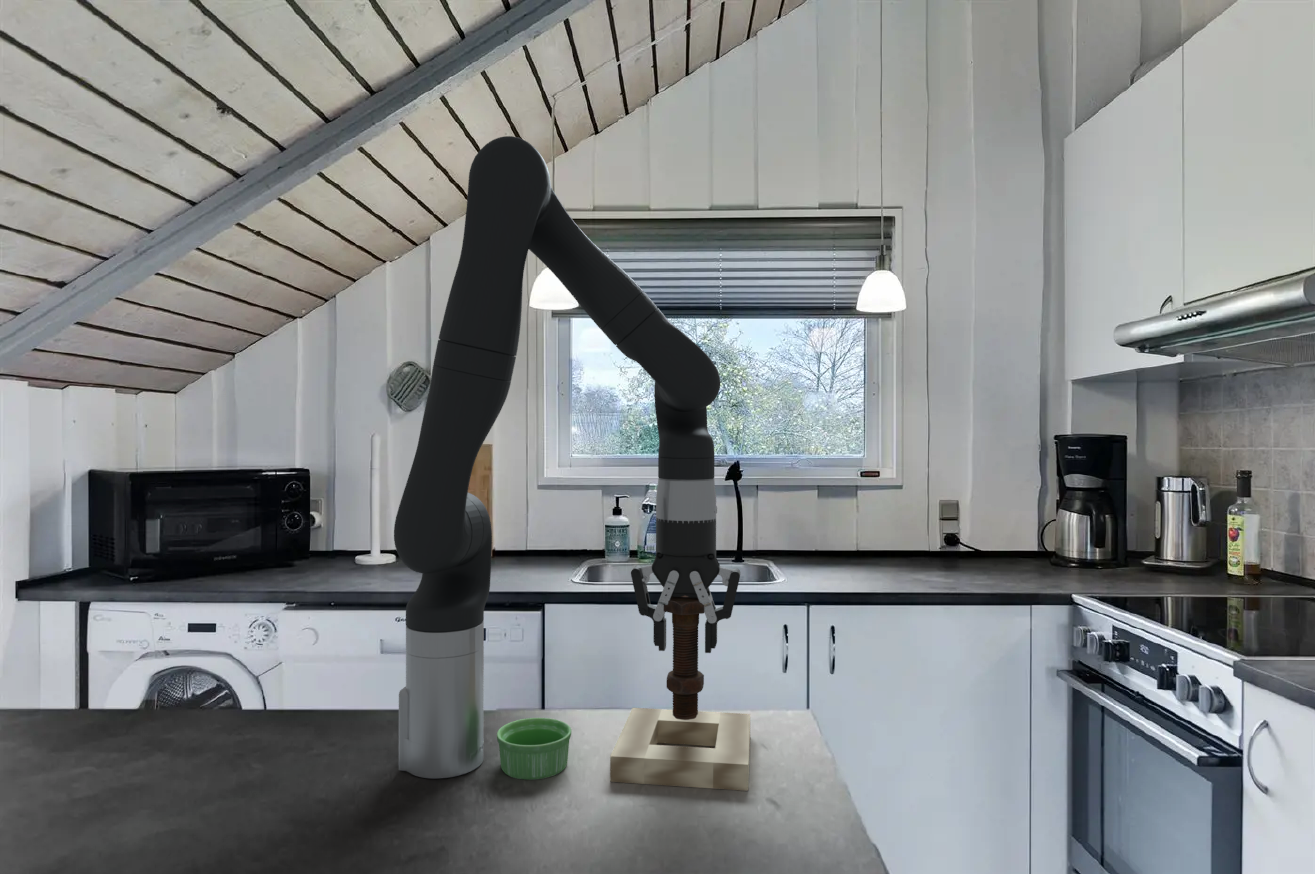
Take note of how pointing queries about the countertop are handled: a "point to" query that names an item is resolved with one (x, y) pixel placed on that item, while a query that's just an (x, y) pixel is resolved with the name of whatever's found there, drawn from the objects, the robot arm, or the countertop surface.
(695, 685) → the bolt
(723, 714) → the frame
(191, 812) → the countertop surface
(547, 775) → the ramekin
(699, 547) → the robot arm
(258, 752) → the countertop surface
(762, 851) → the countertop surface
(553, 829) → the countertop surface
